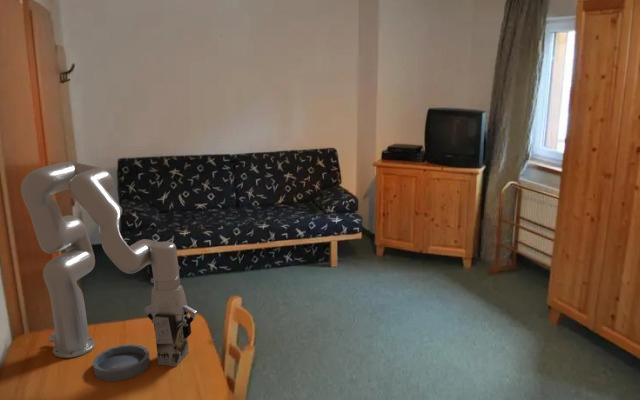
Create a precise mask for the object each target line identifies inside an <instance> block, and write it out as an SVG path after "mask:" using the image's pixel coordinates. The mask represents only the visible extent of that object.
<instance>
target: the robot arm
mask: <svg viewBox="0 0 640 400" xmlns="http://www.w3.org/2000/svg"><path fill="white" fill-rule="evenodd" d="M113 187H114V178H113V176H112V175H111V174H110V172H109V171H107V170H106V169H104V168H102V167H98V166H94V165H90V164H84V163H81V162H76V161H75V162H74V161H61V162H58V163H54V164H53V163H52V164H51V165H50V164H49V165H46V166H43V167H42V166H41V167H40V168H37V169H35V170H32V171H31V172H29V173H27V174H26V176H24V178H23V180H22V181H21V186H20V193H21V197H22V201H23V202H24V205H25V207H26V209H27V211H28V213H29V216H30V219H31V223H32V226H33V230H34V233H35V235H36V239H37V242H38V245H39V246H40V249H41V250H42V252H44V253H46V254H48V255H49V254H51V255H52V254H56V253H59V252H61V251H64V250H65V252H64V253H61V254H59V255H57V256H55V257H54V258H52V259H50V260H49V261H48V262H47V263H46V264H45V266H44V267H43V271H42V277H43V281H44V282H45V285H46V288H47V290H48V295H49V299H50V304H51V311H52V318H53V319H52V320H53V323H54V324H53V325H54V331H55V332H51V333H50V334H49V335H50V336H49V337H48V342H49V343H53V344H54V346H53V347H52V353H53V355H54V356H55V357H58V358H62V359H69V358H70V359H71V358H75V357H80V356H83V355H85V354H88V352H90V351H92V350H93V349H94V347H95V346H96V340H95V339H94V338H93V337H91V336H90V335H89V327H88V320H87V312H86V305H85V299H84V293H83V290H82V289H81V288H80V286H79V284H78V283H77V281H79V280H80V279H81V278H83V277H85V276H87V275H88V274H89V273H91V272H92V271H93V269H94V268H95V266H96V265H95V264H96V259H95V257H96V256H95V253H94V250H93V246H92V243H91V239H90V236H89V232H88V230H87V227H86V224H85V223H84V222H83V221H82V220H81V219H80V218H79V217H78V216H75V215H69V214H68V215H62V211H61V208H60V206H59V203H57V201H56V200H55V199H54V198H53V197H52V195H55V194H58V193H61V192H63V191H67V190H69V192H70V194H71V195H72V197H73V198H74V199H75V201H77V203H78V204H79V205H80V206H81V207H82V209H83V210H84V212H86V213H87V215H88V216H89V218H91V220H92V221H93V222H94V223H95V225H96V226H97V227H98V236H99V240H100V243H101V246H102V249H103V252H104V253H105V254H106V256H107V257H108V259H110V261H111V262H112V263H113V264H114V265H115V266H116V268H118V269H119V270H120V271H121V272H123V273H125V274H135V273H137V272H139V271H141V270H142V269H144V268H145V267H146V266H149V265H151V268H152V277H151V279H150V283H153V286H152V288H151V296H150V297H151V299H150V300H151V301H150V302H151V303H150V305H148V306H146V307H144V311H145V314H146V315H147V318H148V319H149V320H150V321H151V323H152V324H153V328H154V329H153V330H154V331H155V324H154V316H155V315H156V314H160V315H173V316H175V321H176V322H178V321H181V322H182V323H183V325H184V326H183V335H184V338H187V337H189V336H191V334H192V328H191V327H192V326H191V323H192V322H193V321H195V319H196V316H197V314H198V312H197V310H195V309H194V308H192V307H190V306H188V303H187V297H186V294H185V290H184V286H183V285H181V279H180V270H179V261H178V253H177V252H178V250H177V245H176V244H175V243H174V242H172V241H156V240H152V239H148V238H147V239H145V238H143V239H140V240H138V241H136V242H135V243H133V244H131V245H129V244H127V243H126V242H127V241H125V240H124V238H123V237H122V235H121V232H120V228H119V227H120V226H119V223H120V219H121V216H122V214H123V208H122V207H121V205H120V204H119V203H118V201H116V199H115V198H114V197H113V196H112V195H111V194H110V192H111V191H112V190H113ZM188 314H189V315H190V316H188ZM184 318H185V319H184Z"/></svg>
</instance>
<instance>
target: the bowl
mask: <svg viewBox="0 0 640 400" xmlns="http://www.w3.org/2000/svg"><path fill="white" fill-rule="evenodd" d="M150 363H151V358H150V352H149V349H148V348H146V347H144V346H142V345H138V344H132V343H131V344H121V345H117V346H114V347H110V348H108V349H106V350H104V351H102V352H100V353H99V354H98V355H96V356H95V358H94V360H93V362H92V366H93V373H94V375H95V378H98V379H99V380H101V381H107V382H116V381H125V380H127V379H131V378H135V377H136V376H138V375H140V374H142V373H143V372H145V371H146V370H147V369H148V368H149V365H150Z"/></svg>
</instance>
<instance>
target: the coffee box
mask: <svg viewBox="0 0 640 400" xmlns="http://www.w3.org/2000/svg"><path fill="white" fill-rule="evenodd" d="M184 319H185V318H184ZM154 324H155V330H154V333H155V345H156V356H157V364H158V366H170V367H177V366H178V365H179V364H180V363H181V362H182V360H183V359H184V358H185V357H186V356H187V355H188V354H189V351H190V350H189V338H188V337H189V336H188V337H187V338H184V335H183V326H184V325H183V323H182V322H181V321H178V322H176V321H175V316H173V315H160V314H156V315H155V316H154V323H153V325H154Z"/></svg>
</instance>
